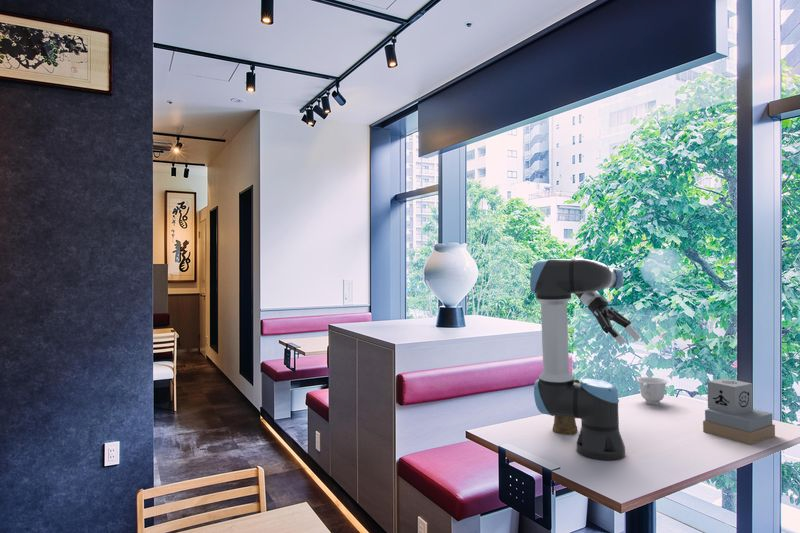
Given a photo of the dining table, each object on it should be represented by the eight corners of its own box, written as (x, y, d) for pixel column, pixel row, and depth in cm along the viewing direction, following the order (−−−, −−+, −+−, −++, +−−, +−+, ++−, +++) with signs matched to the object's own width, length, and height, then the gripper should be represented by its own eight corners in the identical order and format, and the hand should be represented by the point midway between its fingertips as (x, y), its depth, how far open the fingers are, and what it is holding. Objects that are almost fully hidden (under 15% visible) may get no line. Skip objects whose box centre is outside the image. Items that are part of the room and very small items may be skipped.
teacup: (630, 404, 223) (629, 381, 222) (644, 397, 233) (643, 376, 233) (659, 409, 214) (658, 386, 214) (672, 402, 224) (671, 379, 224)
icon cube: (725, 404, 192) (724, 378, 192) (753, 411, 183) (752, 383, 182) (707, 408, 188) (707, 381, 188) (735, 415, 178) (734, 386, 178)
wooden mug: (589, 428, 192) (588, 381, 192) (568, 436, 184) (567, 387, 184) (568, 422, 200) (567, 377, 199) (547, 430, 191) (546, 383, 191)
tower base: (750, 444, 172) (750, 421, 172) (703, 431, 186) (702, 409, 186) (775, 435, 179) (774, 413, 179) (727, 423, 193) (727, 403, 193)
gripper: (602, 305, 221) (638, 343, 210) (573, 309, 204) (610, 351, 193) (614, 293, 217) (651, 331, 206) (585, 297, 200) (623, 338, 189)
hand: (631, 341), depth 199 cm, fingers open, 13 cm apart
